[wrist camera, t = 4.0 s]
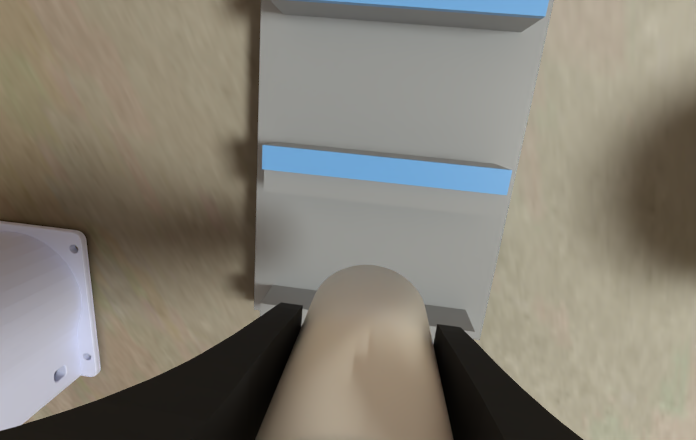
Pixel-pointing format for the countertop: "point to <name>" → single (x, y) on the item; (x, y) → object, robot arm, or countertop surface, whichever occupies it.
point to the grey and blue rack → (391, 144)
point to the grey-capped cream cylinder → (361, 366)
